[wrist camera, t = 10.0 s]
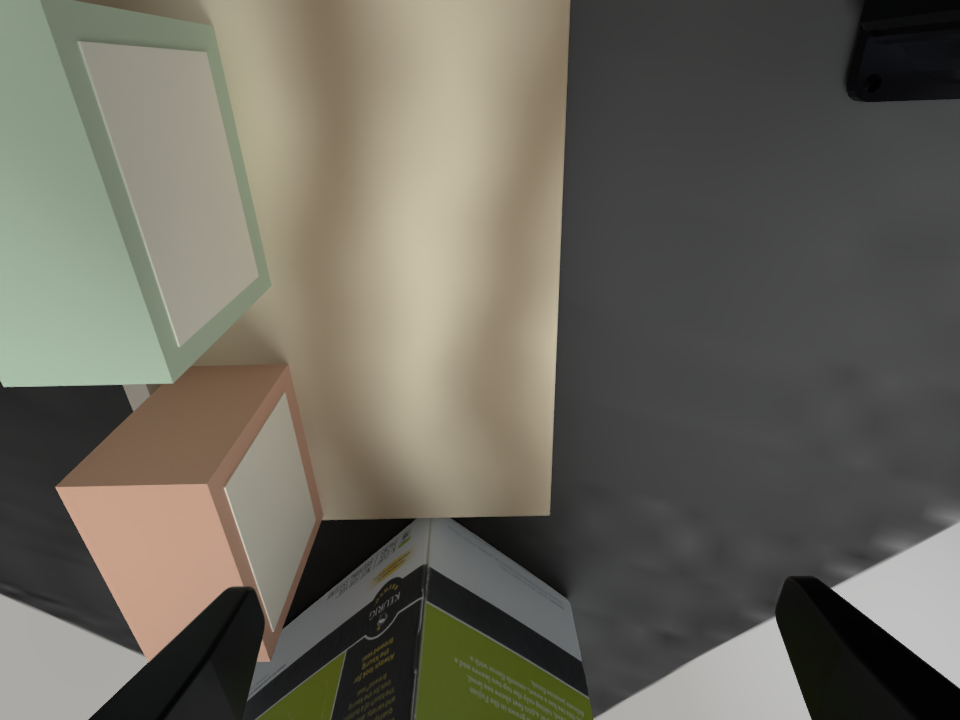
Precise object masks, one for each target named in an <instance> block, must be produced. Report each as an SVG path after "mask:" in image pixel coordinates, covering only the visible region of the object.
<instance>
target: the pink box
mask: <svg viewBox="0 0 960 720" xmlns="http://www.w3.org/2000/svg"><path fill="white" fill-rule="evenodd" d="M55 488H56V490H57V492H58V494H59V495H60V497H61V499H62V501H63V503H64V505H65V507H66V509H67V510H68V512H69V514H70V516H71V518H72V520H73V522H74V524H75V525H76V527H77V529H78V531H79V533H80V535H81V537H82V539H83V540H84V542H85V544H86V546H87V548H88V550H89V552H90V554H91V555H92V557H93V559H94V561H95V563H96V565H97V567H98V569H99V571H100V572H101V574H102V576H103V578H104V580H105V582H106V584H107V586H108V587H109V589H110V591H111V593H112V595H113V597H114V599H115V601H116V602H117V604H118V606H119V608H120V610H121V612H122V614H123V616H124V617H125V619H126V621H127V623H128V625H129V627H130V629H131V631H132V632H133V634H134V636H135V638H136V640H137V642H138V644H139V646H140V647H141V649H142V651H143V653H144V655H145V657H146V659H147V661H148V662H150V661H151V660H152V659H153V658H154V657H155V656H156V655H157V654H158V653H159V652H160V651H161V650H162V649H163V648H164V647H165V646H166V645H167V644H168V643H169V642H171V641H172V640H173V639H174V638H175V637H176V636H177V635H178V634H179V633H180V632H181V631H182V630H183V629H184V628H185V627H186V626H187V625H188V624H189V623H190V622H192V621H193V620H194V619H195V618H196V617H197V616H198V615H199V614H200V613H201V612H202V611H203V610H204V609H205V608H206V607H207V606H208V605H209V604H210V603H211V602H213V601H214V600H215V599H216V598H217V597H218V596H219V595H220V594H221V593H222V592H223V591H224V590H226V589H227V588H229V587H233V586H251V587H253V588H254V589H255V591H256V593H257V596H258V599H259V602H260V605H261V608H262V611H263V614H264V617H265V629H264V634H263V638H262V642H261V646H260V650H259V654H258V658H257V662H270V661H271V658H272V656H273V653H274V650H275V647H276V645H277V642H278V639H279V636H280V634H281V631H282V628H283V625H284V623H285V620H286V617H287V614H288V612H289V609H290V606H291V603H292V601H293V598H294V595H295V592H296V590H297V587H298V584H299V581H300V579H301V576H302V573H303V570H304V568H305V565H306V562H307V559H308V556H309V554H310V551H311V548H312V545H313V543H314V540H315V537H316V534H317V532H318V529H319V526H320V523H321V521H322V518H323V512H322V508H321V504H320V499H319V495H318V491H317V486H316V482H315V478H314V473H313V469H312V465H311V460H310V456H309V452H308V447H307V443H306V439H305V434H304V430H303V426H302V421H301V417H300V413H299V408H298V404H297V400H296V395H295V391H294V387H293V382H292V378H291V374H290V369H289V365H288V364H261V365H223V366H190V367H189V368H188V369H187V370H186V371H185V372H184V373H183V374H182V375H181V376H180V377H179V378H178V379H177V380H176V381H175V382H174V383H173V384H162V385H161V386H160V387H159V388H158V389H157V390H156V391H155V392H154V393H152V394H151V395H150V396H149V397H148V398H147V399H146V400H145V401H144V402H143V403H142V404H141V405H140V406H139V407H138V408H137V409H136V410H135V411H134V412H133V413H132V414H131V415H130V416H129V417H128V418H126V419H125V420H124V421H123V422H122V423H121V424H120V425H119V426H118V427H117V428H116V429H115V430H114V431H113V432H112V433H111V434H110V435H109V436H108V437H107V438H106V439H105V440H104V441H103V442H102V443H100V444H99V445H98V446H97V447H96V448H95V449H94V450H93V451H92V452H91V453H90V454H89V455H88V456H87V457H86V458H85V459H84V460H83V461H82V462H81V463H80V464H79V465H78V466H77V467H76V468H74V469H73V470H72V471H71V472H70V473H69V474H68V475H67V476H66V477H65V478H64V479H63V480H62V481H61V482H60V483H59V484H58V485H57V486H56V487H55Z"/></svg>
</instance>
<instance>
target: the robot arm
mask: <svg viewBox="0 0 960 720" xmlns="http://www.w3.org/2000/svg"><path fill="white" fill-rule="evenodd" d="M860 22H861V24H862V30H861V34H860V38H859V41H858V45H857V49H856V53H855V57H854V61H853V64H852V68H851V72H850V76H849V80H848V84H847V93H848V96H849V97H850V98H851V99H852V100H854V101H860V102H881V101H910V100H938V99H960V0H865V3H864V7H863V11H862V15H861V19H860ZM870 75H871V76H872V78H873V83H872V85H871V87H870V88H869V89H868V90H867V91H866V92H865V90H864V89H863V88H864V82H865V80H866V78H868V77H869V76H870ZM775 614H776V621H777V624H778V627H779V629H780V632H781V635H782V638H783V641H784V644H785V646H786V649H787V652H788V655H789V658H790V661H791V664H792V666H793V669H794V672H795V675H796V678H797V680H798V683H799V686H800V689H801V692H802V695H803V698H804V700H805V703H806V706H807V708H808V711H809V713H810V716H811V719H812V720H960V688H958V687H957V686H956V685H954V684H953V683H952V682H951V681H949V680H948V679H947V678H945V677H944V676H943V675H942V674H940V673H939V672H938V671H936V670H935V669H934V668H932V667H931V666H930V665H929V664H927V663H926V662H925V661H923V660H922V659H921V658H920V657H918V656H917V655H916V654H914V653H913V652H912V651H911V650H909V649H908V648H907V647H905V646H904V645H903V644H902V643H900V642H899V641H898V640H896V639H895V638H894V637H893V636H891V635H890V634H889V633H887V632H886V631H885V630H883V629H882V628H881V627H880V626H878V625H877V624H876V623H874V622H873V621H872V620H871V619H869V618H868V617H867V616H865V615H864V614H862V613H861V612H860V611H859V610H857V609H856V608H855V607H854V606H852V605H851V604H850V603H849V602H847V601H846V600H845V599H843V598H842V597H841V596H839V595H838V594H837V593H836V592H834V591H833V590H832V589H831V588H829V587H828V586H827V585H825V584H824V583H823V582H822V581H820V580H819V579H817V578H815V577H813V576H790V577H788V578H787V579H786V580H785V582H784V585H783V588H782V590H781V593H780V596H779V599H778V602H777V605H776V610H775ZM264 629H265V617H264V614H263V611H262V608H261V605H260V602H259V599H258V596H257V593H256V591H255V589H254V588H253V587H251V586H233V587H229V588H227V589H226V590H224V591H223V592H222V593H221V594H220V595H219V596H218V597H217V598H216V599H215V600H214V601H213V602H211V603H210V604H209V605H208V606H207V607H206V608H205V609H204V610H203V611H202V612H201V613H200V614H199V615H198V616H197V617H196V618H195V619H194V620H193V621H192V622H190V623H189V624H188V625H187V626H186V627H185V628H184V629H183V630H182V631H181V632H180V633H179V634H178V635H177V636H176V637H175V638H174V639H173V640H172V641H171V642H169V643H168V644H167V645H166V646H165V647H164V648H163V649H162V650H161V651H160V652H159V653H158V654H157V655H156V656H155V657H154V658H153V659H152V660H151V661H150V662H148V663H147V665H145V666H144V667H143V668H142V669H141V670H140V671H139V672H138V673H137V674H136V675H135V676H134V677H133V678H132V679H131V680H130V681H129V682H127V683H126V684H125V685H124V686H123V687H122V688H121V689H120V690H119V691H118V692H117V693H116V694H115V695H114V696H113V697H112V698H111V699H110V700H109V701H108V702H107V703H105V704H104V705H103V706H102V707H101V708H100V709H99V710H98V711H97V712H96V713H95V714H94V715H93V716H92V717H91V718H90V719H89V720H242V719H243V715H244V712H245V707H246V703H247V699H248V695H249V691H250V687H251V683H252V679H253V675H254V671H255V667H256V662H257V658H258V654H259V650H260V646H261V642H262V638H263V634H264Z"/></svg>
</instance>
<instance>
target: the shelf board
mask: <svg viewBox="0 0 960 720" xmlns="http://www.w3.org/2000/svg"><path fill="white" fill-rule="evenodd" d="M75 1H80V2H86V3H91V4H96V5H102V6H107V7H113V8H118V9H124V10H129V11H135V12H140V13H145V14H151V15H156V16H162V17H167V18H173V19H178V20H184V21H189V22H194V23H200V24H205V25H211V26H213V27H214V31H215V35H216V40H217V44H218V49H219V53H220V58H221V62H222V67H223V71H224V76H225V80H226V85H227V89H228V94H229V98H230V102H231V107H232V111H233V116H234V120H235V125H236V129H237V134H238V138H239V143H240V147H241V152H242V156H243V161H244V165H245V169H246V174H247V178H248V183H249V187H250V192H251V196H252V201H253V205H254V210H255V214H256V219H257V223H258V228H259V232H260V236H261V241H262V245H263V250H264V254H265V259H266V263H267V268H268V272H269V277H270V281H271V287H270V288H269V289H268V290H267V291H266V292H265V293H264V294H263V295H262V296H261V297H260V298H259V299H258V300H257V301H256V302H255V303H254V304H253V305H252V306H251V307H250V308H249V309H248V310H247V311H246V312H245V313H244V314H243V315H242V316H241V317H240V318H239V319H238V320H237V321H236V322H235V323H234V324H233V325H232V326H231V327H230V328H229V329H228V330H227V331H226V332H225V333H224V334H223V335H222V336H221V337H220V338H219V339H218V340H217V341H216V342H215V343H214V344H213V345H212V346H210V347H209V348H208V349H207V350H206V351H205V352H204V353H203V354H202V355H201V356H200V357H199V358H198V359H197V360H196V361H195V362H194V363H193V364H192V365H191V366H223V365H261V364H288V365H289V369H290V374H291V378H292V382H293V387H294V391H295V395H296V400H297V404H298V408H299V413H300V417H301V421H302V426H303V430H304V434H305V439H306V443H307V447H308V452H309V456H310V460H311V465H312V469H313V473H314V478H315V482H316V486H317V491H318V495H319V499H320V504H321V508H322V512H323V518H322V520H351V519H400V518H450V517H500V516H549V515H550V497H551V472H552V447H553V422H554V397H555V372H556V347H557V322H558V296H559V271H560V246H561V221H562V196H563V171H564V146H565V120H566V95H567V70H568V45H569V20H570V0H75ZM161 385H162V384H127V385H123V387H124V390H125V392H126V395H127V397H128V400H129V402H130V404H131V407H132V409H133V412H134V411H135V410H136V409H137V408H138V407H139V406H140V405H141V404H142V403H143V402H144V401H145V400H146V399H147V398H148V397H149V396H150V395H151V394H152V393H154V392H155V391H156V390H157V389H158V388H159V387H160V386H161Z"/></svg>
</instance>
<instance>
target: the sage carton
mask: <svg viewBox="0 0 960 720" xmlns="http://www.w3.org/2000/svg"><path fill="white" fill-rule="evenodd" d="M270 287H271V281H270V277H269V272H268V268H267V263H266V259H265V254H264V250H263V245H262V241H261V236H260V232H259V228H258V223H257V219H256V214H255V210H254V205H253V201H252V196H251V192H250V187H249V183H248V178H247V174H246V169H245V165H244V161H243V156H242V152H241V147H240V143H239V138H238V134H237V129H236V125H235V120H234V116H233V111H232V107H231V102H230V98H229V94H228V89H227V85H226V80H225V76H224V71H223V67H222V62H221V58H220V53H219V49H218V44H217V40H216V35H215V31H214V27H213V26H211V25H205V24H200V23H194V22H189V21H184V20H178V19H173V18H167V17H162V16H156V15H151V14H145V13H140V12H135V11H129V10H124V9H118V8H113V7H107V6H102V5H96V4H91V3H86V2H80V1H75V0H0V381H1V383H2V385H3V387H31V386H79V385H127V384H173V383H174V382H175V381H176V380H177V379H178V378H179V377H180V376H181V375H182V374H183V373H184V372H185V371H186V370H187V369H188V368H189V367H190V366H191V365H192V364H193V363H194V362H195V361H196V360H197V359H198V358H199V357H200V356H201V355H202V354H203V353H204V352H205V351H206V350H207V349H208V348H209V347H210V346H212V345H213V344H214V343H215V342H216V341H217V340H218V339H219V338H220V337H221V336H222V335H223V334H224V333H225V332H226V331H227V330H228V329H229V328H230V327H231V326H232V325H233V324H234V323H235V322H236V321H237V320H238V319H239V318H240V317H241V316H242V315H243V314H244V313H245V312H246V311H247V310H248V309H249V308H250V307H251V306H252V305H253V304H254V303H255V302H256V301H257V300H258V299H259V298H260V297H261V296H262V295H263V294H264V293H265V292H266V291H267V290H268V289H269V288H270Z"/></svg>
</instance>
